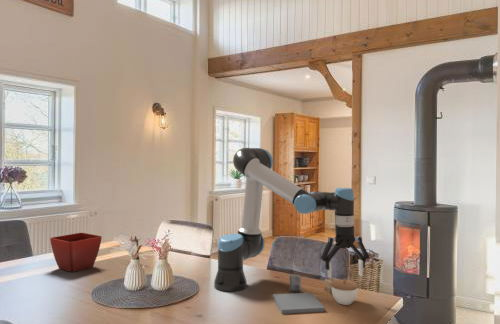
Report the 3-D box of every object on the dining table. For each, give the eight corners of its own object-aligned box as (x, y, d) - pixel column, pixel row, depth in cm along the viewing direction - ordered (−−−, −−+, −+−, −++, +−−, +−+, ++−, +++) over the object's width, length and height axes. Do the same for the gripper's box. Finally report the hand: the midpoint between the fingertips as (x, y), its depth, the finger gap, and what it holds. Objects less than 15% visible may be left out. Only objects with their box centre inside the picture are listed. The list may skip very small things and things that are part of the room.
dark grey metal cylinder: (291, 293, 169) (291, 277, 169) (288, 290, 174) (288, 274, 174) (302, 293, 169) (302, 277, 169) (299, 289, 174) (299, 274, 174)
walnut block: (330, 294, 169) (330, 282, 169) (324, 290, 173) (324, 279, 173) (342, 292, 171) (342, 281, 171) (335, 289, 175) (335, 278, 175)
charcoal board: (281, 313, 147) (281, 309, 147) (272, 297, 164) (272, 294, 164) (324, 311, 149) (324, 307, 149) (311, 296, 166) (311, 292, 166)
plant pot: (102, 266, 211) (102, 235, 211) (70, 275, 195) (70, 242, 194) (81, 261, 221) (81, 232, 221) (49, 269, 205) (49, 237, 205)
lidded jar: (353, 309, 152) (353, 285, 152) (327, 303, 157) (327, 280, 157) (360, 300, 161) (361, 278, 161) (336, 295, 167) (336, 274, 166)
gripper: (318, 227, 153) (319, 280, 153) (377, 225, 157) (377, 277, 157) (312, 224, 161) (313, 275, 161) (369, 223, 164) (369, 272, 164)
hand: (345, 276), depth 159 cm, fingers open, 13 cm apart
